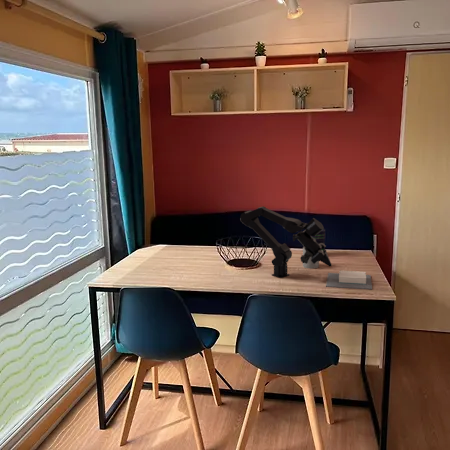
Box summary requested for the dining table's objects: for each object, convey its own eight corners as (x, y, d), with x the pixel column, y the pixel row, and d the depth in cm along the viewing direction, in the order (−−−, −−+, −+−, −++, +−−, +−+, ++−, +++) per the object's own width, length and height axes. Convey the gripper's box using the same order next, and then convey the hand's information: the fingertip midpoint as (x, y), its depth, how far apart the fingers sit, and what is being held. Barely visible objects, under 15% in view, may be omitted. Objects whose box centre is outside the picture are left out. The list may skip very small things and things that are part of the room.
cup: (300, 267, 239) (300, 248, 237) (305, 263, 246) (305, 245, 244) (316, 269, 235) (316, 250, 233) (320, 265, 242) (321, 246, 240)
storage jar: (320, 258, 254) (320, 232, 251) (304, 255, 260) (304, 230, 257) (327, 254, 262) (328, 228, 259) (312, 252, 268) (312, 227, 265)
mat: (325, 286, 208) (326, 285, 208) (328, 273, 227) (328, 272, 227) (372, 289, 203) (372, 288, 202) (370, 275, 221) (370, 274, 221)
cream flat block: (339, 276, 210) (366, 278, 207) (339, 270, 220) (365, 271, 217) (338, 283, 211) (366, 284, 208) (339, 276, 220) (365, 277, 217)
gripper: (297, 247, 227) (319, 270, 227) (293, 258, 210) (316, 282, 209) (314, 233, 224) (336, 256, 223) (311, 242, 206) (335, 267, 206)
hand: (330, 265), depth 215 cm, fingers closed
